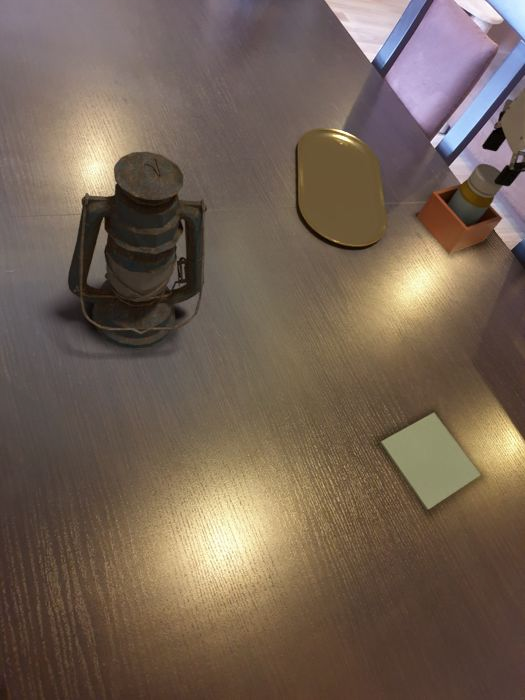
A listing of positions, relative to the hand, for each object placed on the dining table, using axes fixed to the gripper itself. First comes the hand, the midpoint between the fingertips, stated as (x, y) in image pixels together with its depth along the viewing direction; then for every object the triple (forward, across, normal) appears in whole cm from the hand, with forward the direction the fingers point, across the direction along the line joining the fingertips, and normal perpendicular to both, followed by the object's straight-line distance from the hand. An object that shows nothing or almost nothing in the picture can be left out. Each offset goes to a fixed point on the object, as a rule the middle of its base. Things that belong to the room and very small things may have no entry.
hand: (494, 166), depth 107 cm
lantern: (+17, -33, +63) cm, 73 cm away
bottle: (+17, 0, 0) cm, 17 cm away
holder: (+17, 0, 0) cm, 17 cm away
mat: (+17, -53, +15) cm, 58 cm away
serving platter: (+17, +6, +24) cm, 30 cm away
